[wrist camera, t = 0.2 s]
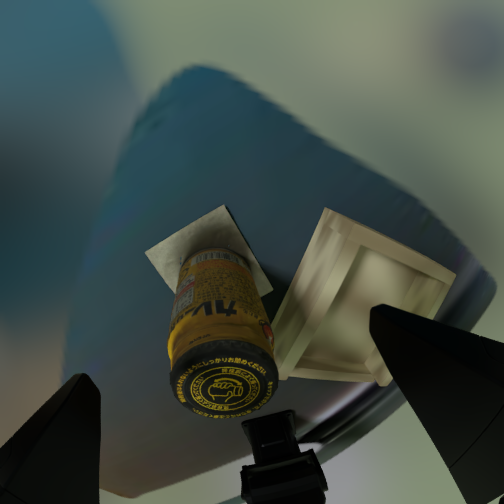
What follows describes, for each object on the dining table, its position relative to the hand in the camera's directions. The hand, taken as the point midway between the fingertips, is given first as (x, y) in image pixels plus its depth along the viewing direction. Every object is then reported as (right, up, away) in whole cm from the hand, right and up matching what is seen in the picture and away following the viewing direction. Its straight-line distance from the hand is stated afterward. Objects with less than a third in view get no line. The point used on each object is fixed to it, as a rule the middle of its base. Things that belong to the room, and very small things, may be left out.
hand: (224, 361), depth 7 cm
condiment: (-3, +2, +15) cm, 16 cm away
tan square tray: (+10, -2, +19) cm, 21 cm away
